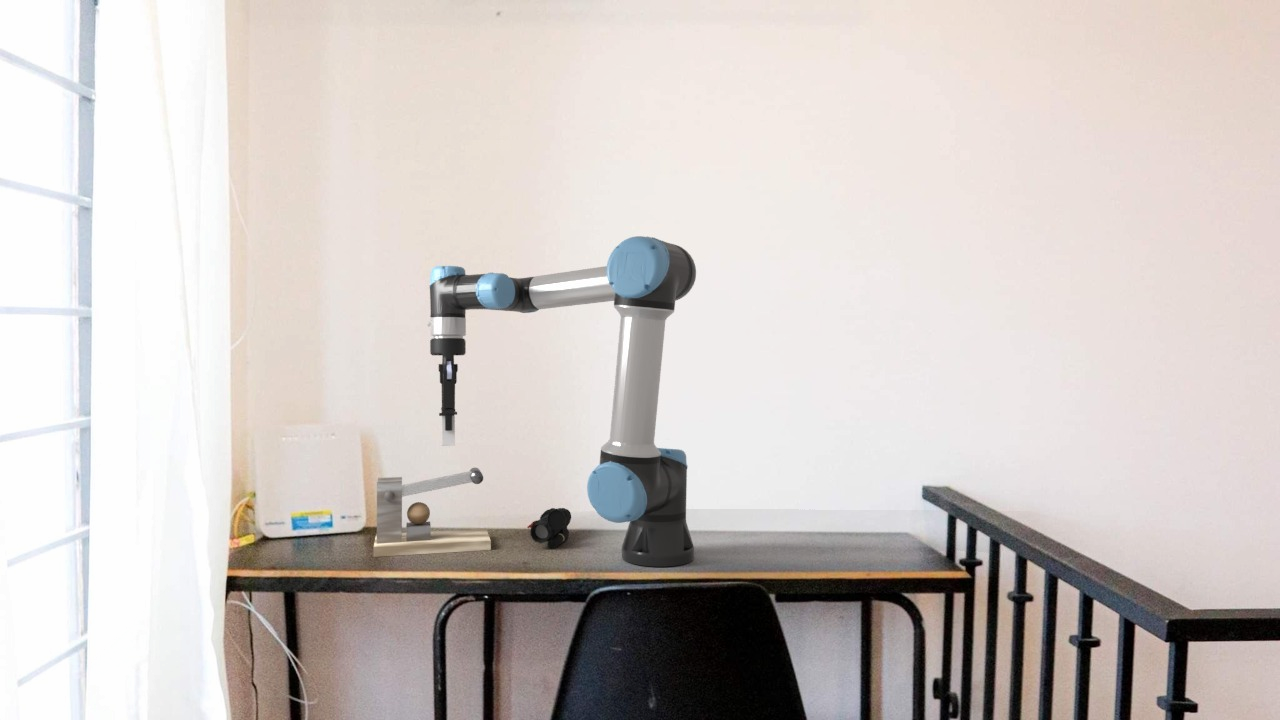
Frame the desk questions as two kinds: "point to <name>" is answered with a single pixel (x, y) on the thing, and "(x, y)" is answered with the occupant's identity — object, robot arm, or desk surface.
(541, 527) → the night vision scope
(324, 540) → the desk surface
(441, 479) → the lever
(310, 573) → the desk surface
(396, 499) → the press base
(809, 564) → the desk surface
